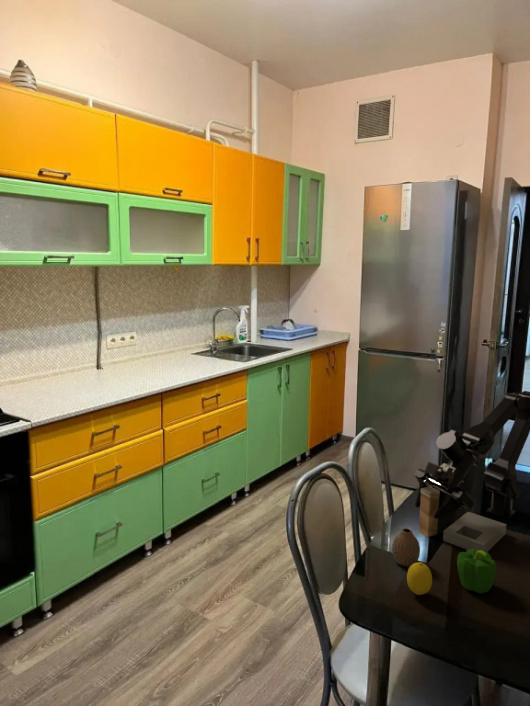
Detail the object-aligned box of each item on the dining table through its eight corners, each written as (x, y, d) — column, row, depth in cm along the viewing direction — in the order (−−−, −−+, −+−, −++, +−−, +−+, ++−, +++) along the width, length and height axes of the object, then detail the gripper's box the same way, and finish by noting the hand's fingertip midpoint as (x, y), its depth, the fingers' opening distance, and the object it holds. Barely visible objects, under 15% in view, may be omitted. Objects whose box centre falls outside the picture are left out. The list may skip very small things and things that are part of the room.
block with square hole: (467, 521, 154) (468, 511, 154) (505, 534, 147) (506, 524, 146) (442, 540, 143) (443, 530, 142) (483, 555, 135) (483, 545, 135)
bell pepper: (451, 576, 126) (453, 538, 125) (485, 577, 126) (488, 539, 124) (463, 597, 118) (466, 557, 116) (499, 598, 118) (503, 558, 116)
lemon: (432, 603, 116) (434, 570, 115) (406, 600, 117) (408, 567, 116) (429, 589, 121) (431, 557, 120) (405, 586, 122) (406, 554, 121)
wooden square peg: (428, 528, 149) (430, 486, 147) (437, 534, 146) (439, 491, 144) (418, 531, 148) (420, 488, 146) (427, 537, 145) (430, 493, 143)
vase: (419, 557, 134) (421, 526, 133) (418, 572, 128) (420, 539, 127) (392, 553, 137) (394, 521, 135) (390, 566, 130) (391, 534, 129)
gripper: (419, 442, 153) (388, 484, 150) (469, 463, 137) (435, 510, 134) (438, 463, 158) (408, 504, 155) (488, 486, 141) (455, 532, 138)
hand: (425, 512), depth 145 cm, fingers open, 7 cm apart
